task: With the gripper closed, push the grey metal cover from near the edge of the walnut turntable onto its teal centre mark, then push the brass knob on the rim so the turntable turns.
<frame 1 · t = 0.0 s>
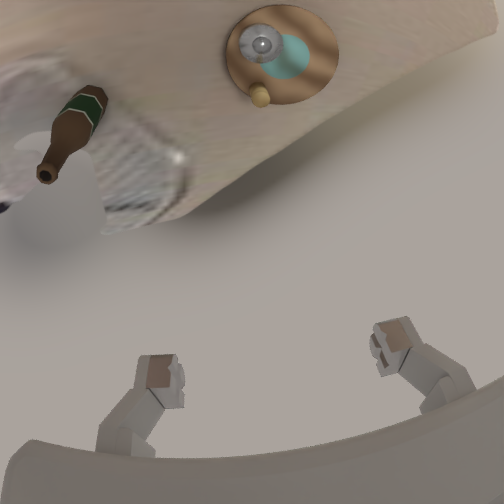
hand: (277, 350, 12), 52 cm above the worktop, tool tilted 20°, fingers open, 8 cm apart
beer bottle: (91, 100, 48), on the worktop
turntable: (286, 59, 43), point 5 cm above the worktop, hinge at 0.0°, touching cover
cover: (259, 40, 41), point 4 cm above the worktop, touching turntable
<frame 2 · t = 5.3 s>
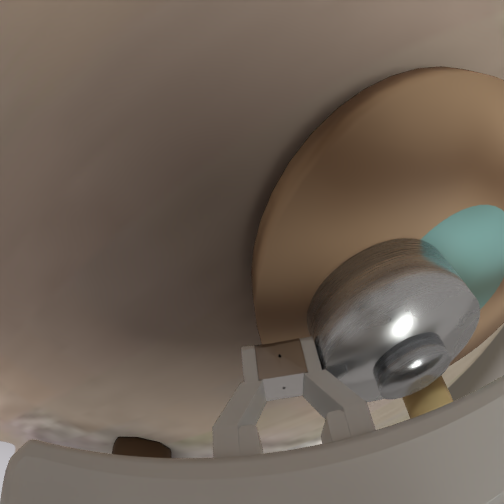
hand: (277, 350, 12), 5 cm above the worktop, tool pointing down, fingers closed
beer bottle: (142, 444, 31), on the worktop
turntable: (470, 305, 11), point 5 cm above the worktop, hinge at 0.0°, touching cover
cover: (382, 304, 12), point 4 cm above the worktop, touching gripper, turntable
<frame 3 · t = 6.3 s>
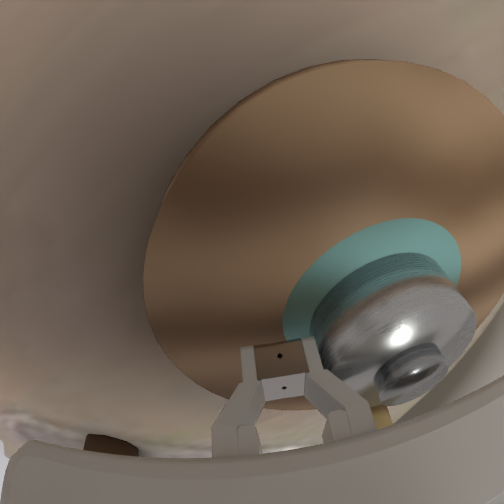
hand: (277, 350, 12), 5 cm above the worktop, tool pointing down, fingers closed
beer bottle: (111, 442, 30), on the worktop
turntable: (393, 331, 11), point 5 cm above the worktop, hinge at 0.4°, touching cover
cover: (381, 314, 13), point 4 cm above the worktop, touching gripper, turntable
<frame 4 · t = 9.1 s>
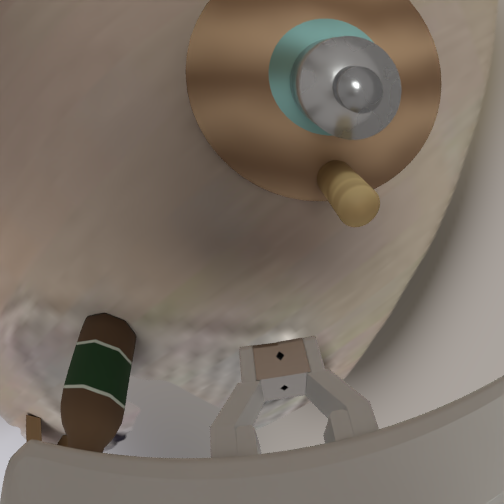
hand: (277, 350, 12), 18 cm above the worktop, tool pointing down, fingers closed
beer bottle: (109, 330, 36), on the worktop
turntable: (339, 78, 17), point 5 cm above the worktop, hinge at 0.4°, touching cover
cover: (337, 83, 18), point 4 cm above the worktop, touching turntable
photo frame: (48, 430, 62), on the worktop
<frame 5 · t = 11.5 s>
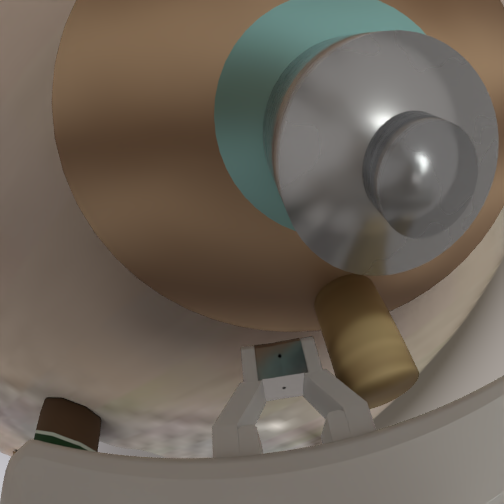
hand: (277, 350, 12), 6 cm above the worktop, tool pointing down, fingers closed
beer bottle: (72, 410, 27), on the worktop
turntable: (375, 132, 8), point 5 cm above the worktop, hinge at 0.4°, touching cover, gripper
cover: (366, 136, 9), point 4 cm above the worktop, touching turntable
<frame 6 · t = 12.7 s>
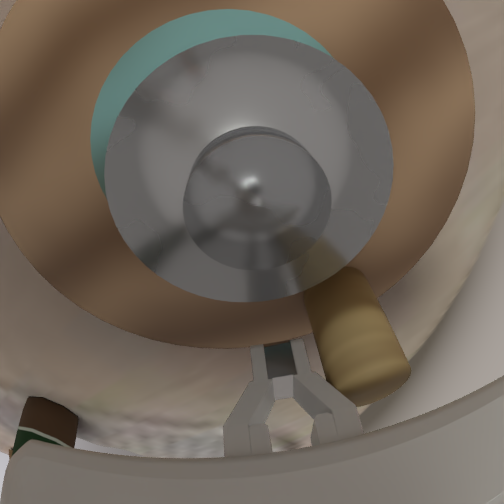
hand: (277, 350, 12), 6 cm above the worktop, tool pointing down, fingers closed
beer bottle: (53, 409, 27), on the worktop
turntable: (225, 161, 8), point 5 cm above the worktop, hinge at 28.1°, touching cover, gripper
cover: (245, 152, 9), point 4 cm above the worktop, touching turntable
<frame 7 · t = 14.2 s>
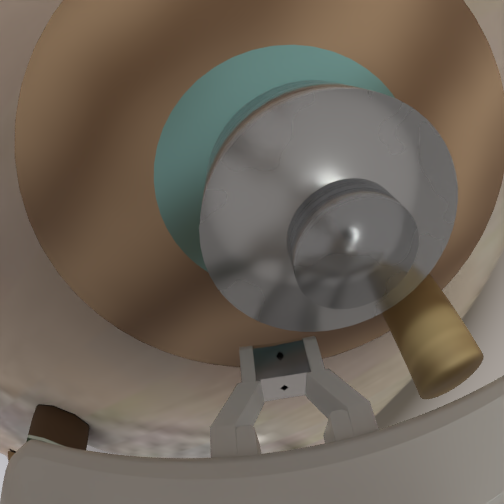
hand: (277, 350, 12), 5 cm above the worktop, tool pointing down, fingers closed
beer bottle: (63, 417, 27), on the worktop
turntable: (306, 205, 8), point 5 cm above the worktop, hinge at 42.4°, touching cover
cover: (315, 187, 10), point 4 cm above the worktop, touching turntable
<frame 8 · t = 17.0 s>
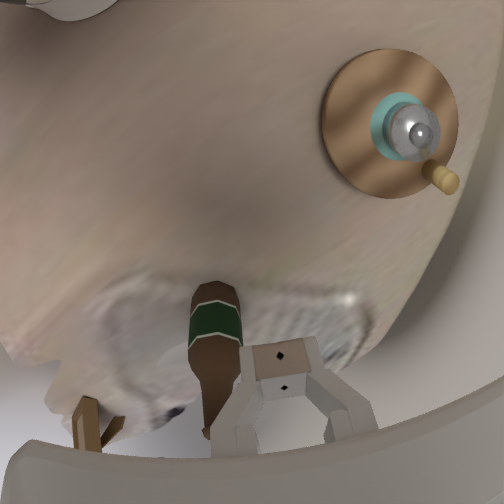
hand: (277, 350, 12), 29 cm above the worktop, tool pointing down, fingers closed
beer bottle: (215, 296, 49), on the worktop
turntable: (407, 130, 30), point 5 cm above the worktop, hinge at 42.4°, touching cover
cover: (405, 128, 31), point 4 cm above the worktop, touching turntable
photo frame: (98, 413, 75), on the worktop
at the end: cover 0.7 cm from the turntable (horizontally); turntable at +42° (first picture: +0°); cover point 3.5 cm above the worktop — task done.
